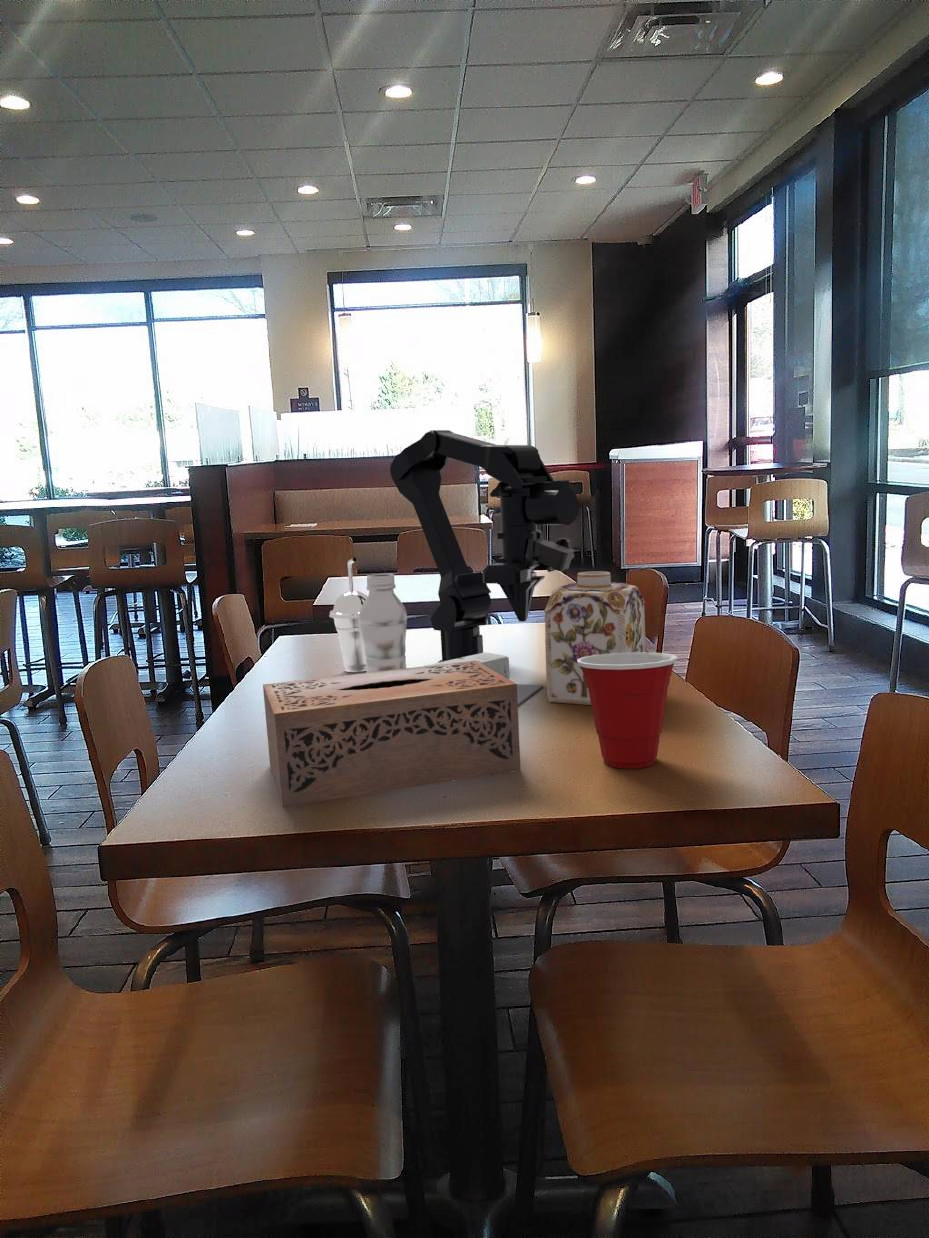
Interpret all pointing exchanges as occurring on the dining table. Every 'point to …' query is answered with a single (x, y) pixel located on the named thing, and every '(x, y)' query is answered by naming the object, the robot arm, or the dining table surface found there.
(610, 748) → the plastic cup
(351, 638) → the cup with straw
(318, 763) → the tissue box cover
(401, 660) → the plastic bottle
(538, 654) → the dining table surface
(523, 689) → the mat
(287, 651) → the dining table surface
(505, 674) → the skincare box
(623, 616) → the decorative jar
